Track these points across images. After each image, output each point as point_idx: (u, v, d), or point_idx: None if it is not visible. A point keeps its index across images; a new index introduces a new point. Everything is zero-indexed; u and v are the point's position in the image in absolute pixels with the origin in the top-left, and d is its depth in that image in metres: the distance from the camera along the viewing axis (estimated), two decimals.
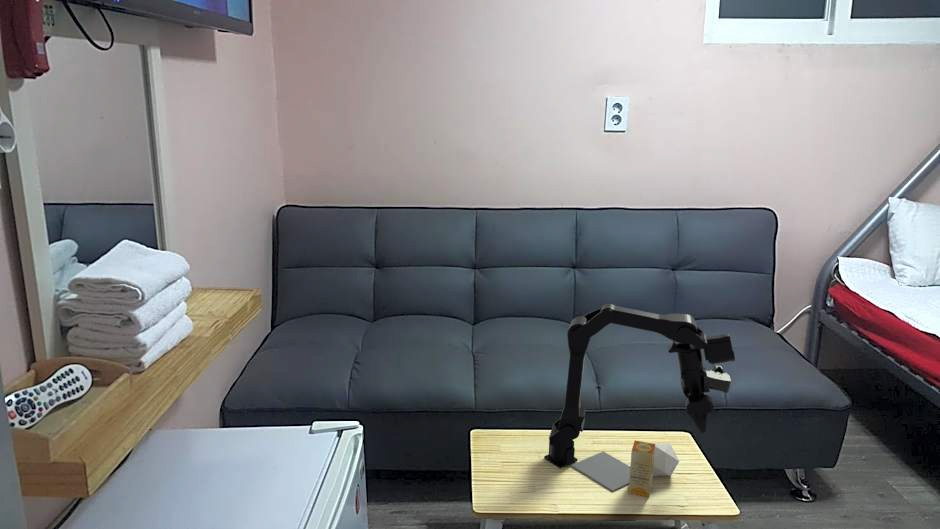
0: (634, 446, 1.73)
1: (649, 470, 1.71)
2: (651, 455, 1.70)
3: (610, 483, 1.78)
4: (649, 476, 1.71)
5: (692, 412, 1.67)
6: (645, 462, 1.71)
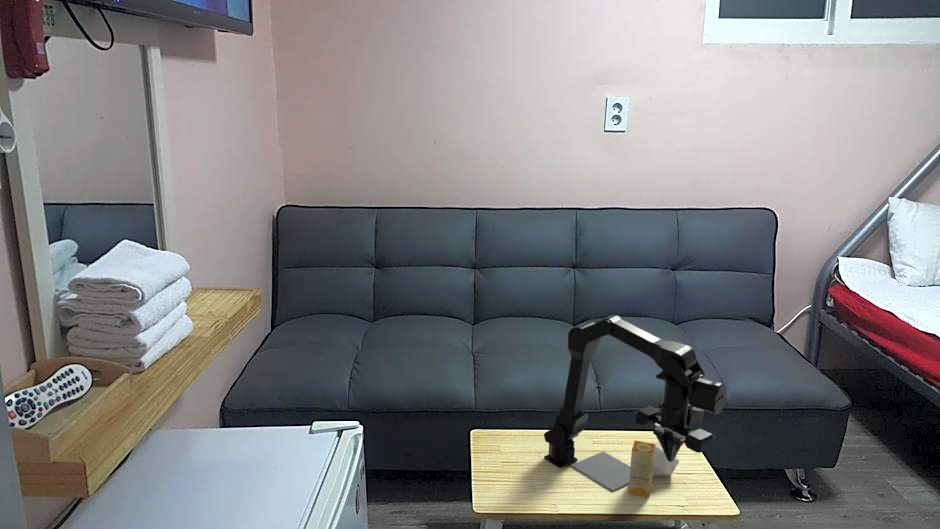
0: (634, 446, 1.73)
1: (649, 470, 1.71)
2: (651, 455, 1.70)
3: (610, 483, 1.78)
4: (649, 476, 1.71)
5: (702, 449, 1.56)
6: (645, 462, 1.71)
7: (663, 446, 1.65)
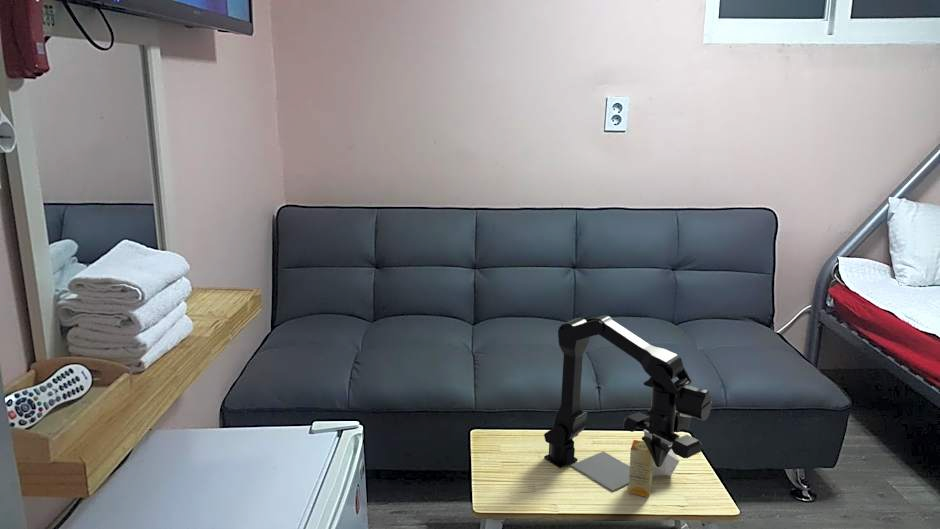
0: (633, 445, 1.73)
1: (648, 469, 1.71)
2: (650, 454, 1.70)
3: (610, 483, 1.78)
4: (648, 475, 1.71)
5: (689, 455, 1.59)
6: (644, 461, 1.71)
7: (651, 452, 1.68)
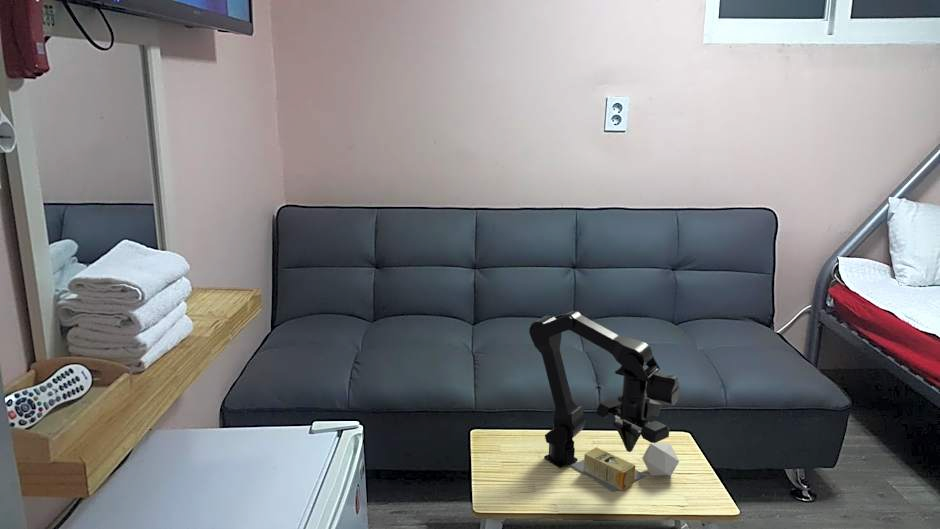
0: None
1: (599, 462, 1.79)
2: (586, 455, 1.82)
3: None
4: (604, 464, 1.78)
5: (657, 440, 1.66)
6: (592, 463, 1.81)
7: (622, 437, 1.75)
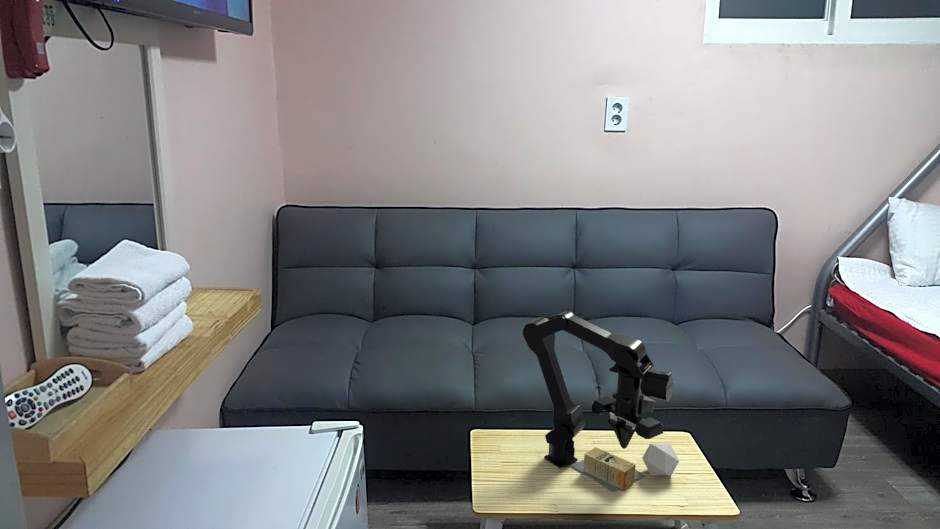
0: None
1: (599, 462, 1.79)
2: (586, 455, 1.82)
3: None
4: (604, 464, 1.78)
5: (651, 436, 1.68)
6: (592, 463, 1.81)
7: (617, 434, 1.77)
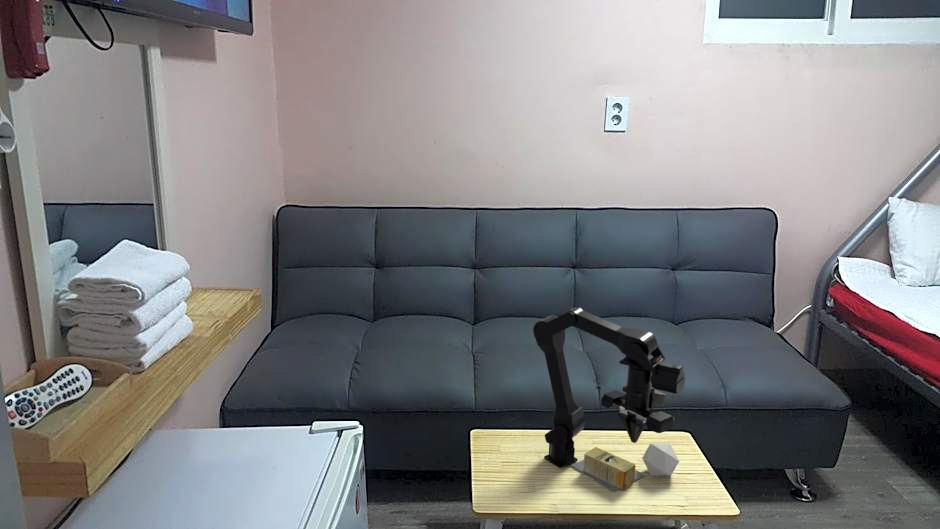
0: None
1: (599, 461, 1.79)
2: (586, 455, 1.82)
3: None
4: (604, 464, 1.78)
5: (662, 430, 1.65)
6: (592, 462, 1.81)
7: (627, 428, 1.73)
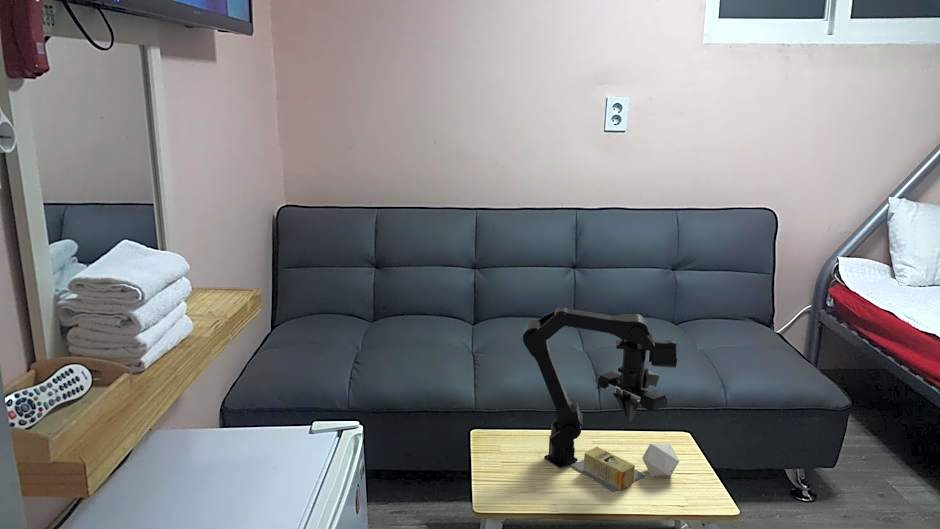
0: None
1: (598, 461, 1.79)
2: (586, 454, 1.82)
3: None
4: (603, 463, 1.78)
5: (655, 408, 1.73)
6: (592, 462, 1.81)
7: (622, 407, 1.82)
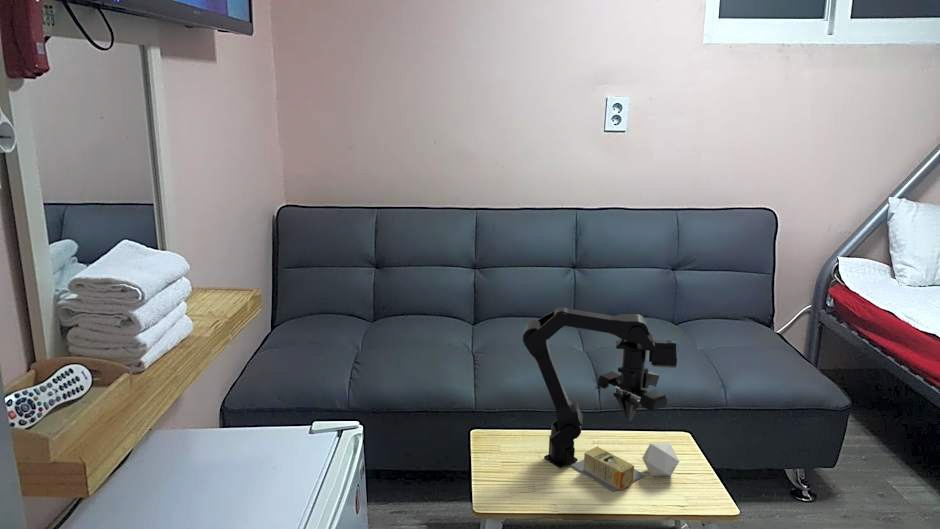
0: None
1: (598, 461, 1.79)
2: (586, 454, 1.82)
3: None
4: (602, 463, 1.78)
5: (655, 408, 1.73)
6: (592, 462, 1.81)
7: (622, 407, 1.82)
